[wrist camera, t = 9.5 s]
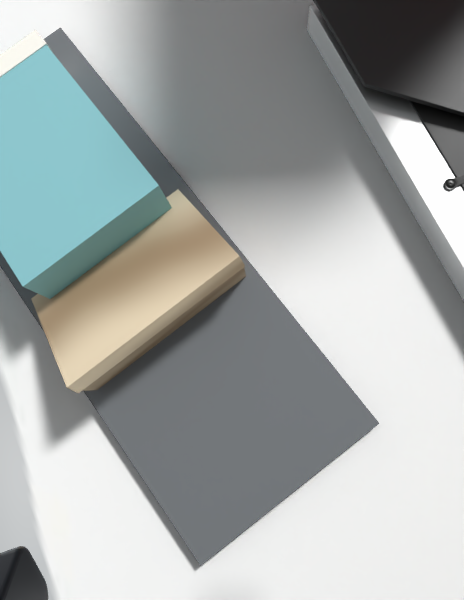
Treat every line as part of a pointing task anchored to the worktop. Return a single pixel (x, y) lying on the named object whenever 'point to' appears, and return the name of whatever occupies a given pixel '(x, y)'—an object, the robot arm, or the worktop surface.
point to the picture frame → (407, 101)
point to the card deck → (62, 174)
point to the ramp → (137, 296)
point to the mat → (217, 384)
